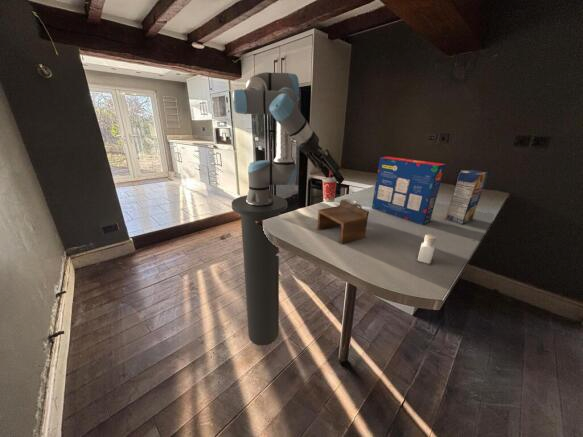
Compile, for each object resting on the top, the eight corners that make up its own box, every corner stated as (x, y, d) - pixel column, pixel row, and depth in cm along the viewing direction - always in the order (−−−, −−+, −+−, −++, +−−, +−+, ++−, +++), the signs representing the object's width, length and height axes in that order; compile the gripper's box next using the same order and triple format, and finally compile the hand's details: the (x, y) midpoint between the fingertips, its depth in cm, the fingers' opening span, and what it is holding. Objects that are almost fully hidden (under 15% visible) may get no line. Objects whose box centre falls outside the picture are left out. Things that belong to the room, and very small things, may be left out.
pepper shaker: (417, 261, 80) (423, 236, 77) (418, 256, 84) (424, 232, 80) (430, 265, 78) (437, 240, 75) (430, 259, 82) (437, 235, 78)
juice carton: (456, 214, 124) (470, 169, 115) (472, 219, 118) (488, 172, 109) (445, 219, 118) (459, 172, 109) (461, 224, 112) (478, 175, 103)
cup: (359, 214, 120) (362, 200, 117) (360, 220, 113) (363, 205, 110) (338, 212, 122) (340, 198, 119) (338, 218, 115) (340, 203, 112)
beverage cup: (318, 199, 97) (319, 165, 92) (331, 198, 99) (333, 164, 94) (325, 203, 92) (327, 167, 87) (339, 201, 94) (341, 166, 89)
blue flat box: (430, 221, 115) (445, 164, 104) (422, 224, 110) (438, 165, 99) (379, 205, 135) (388, 156, 124) (371, 208, 130) (380, 157, 120)
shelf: (317, 228, 103) (318, 204, 99) (339, 223, 110) (341, 200, 105) (341, 244, 91) (344, 217, 86) (364, 236, 97) (369, 211, 93)
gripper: (284, 143, 87) (316, 181, 101) (313, 148, 72) (346, 192, 86) (297, 128, 88) (327, 168, 102) (328, 130, 73) (359, 177, 87)
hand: (336, 179), depth 94 cm, fingers closed on beverage cup, 6 cm apart
